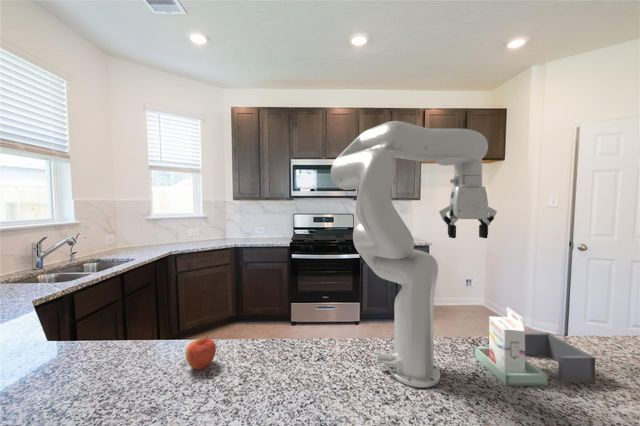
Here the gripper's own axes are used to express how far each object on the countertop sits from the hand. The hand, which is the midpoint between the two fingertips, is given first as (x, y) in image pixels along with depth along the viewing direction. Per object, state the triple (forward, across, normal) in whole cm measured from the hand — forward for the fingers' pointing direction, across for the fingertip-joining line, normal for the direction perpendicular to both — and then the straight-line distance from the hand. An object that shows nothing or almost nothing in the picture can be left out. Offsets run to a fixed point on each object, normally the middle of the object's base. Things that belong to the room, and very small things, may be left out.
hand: (467, 237), depth 82 cm
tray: (+33, +3, -13) cm, 36 cm away
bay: (+33, +16, -12) cm, 39 cm away
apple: (+34, -78, -11) cm, 86 cm away
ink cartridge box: (+33, +3, -13) cm, 35 cm away
